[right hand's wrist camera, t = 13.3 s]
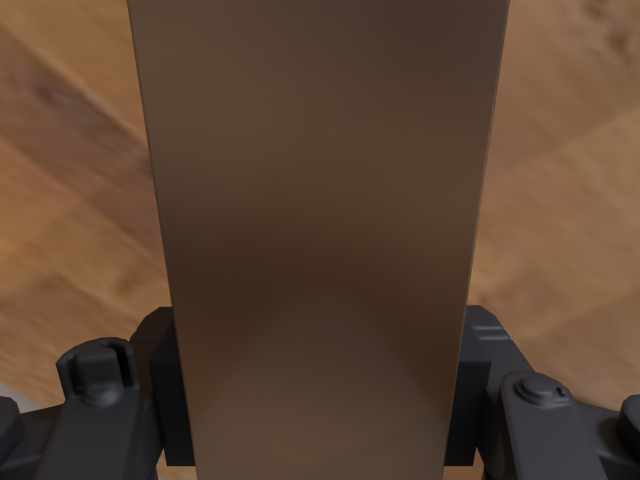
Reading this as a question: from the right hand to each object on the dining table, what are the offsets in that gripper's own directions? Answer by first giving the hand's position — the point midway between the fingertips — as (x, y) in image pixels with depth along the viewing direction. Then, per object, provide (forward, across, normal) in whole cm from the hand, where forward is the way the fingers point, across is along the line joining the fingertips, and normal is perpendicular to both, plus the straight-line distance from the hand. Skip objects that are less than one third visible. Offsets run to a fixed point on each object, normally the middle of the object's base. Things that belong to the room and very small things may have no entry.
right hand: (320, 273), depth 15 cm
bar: (+1, 0, -28) cm, 28 cm away
